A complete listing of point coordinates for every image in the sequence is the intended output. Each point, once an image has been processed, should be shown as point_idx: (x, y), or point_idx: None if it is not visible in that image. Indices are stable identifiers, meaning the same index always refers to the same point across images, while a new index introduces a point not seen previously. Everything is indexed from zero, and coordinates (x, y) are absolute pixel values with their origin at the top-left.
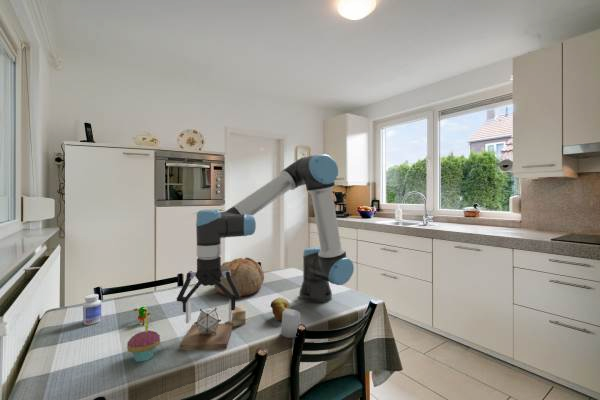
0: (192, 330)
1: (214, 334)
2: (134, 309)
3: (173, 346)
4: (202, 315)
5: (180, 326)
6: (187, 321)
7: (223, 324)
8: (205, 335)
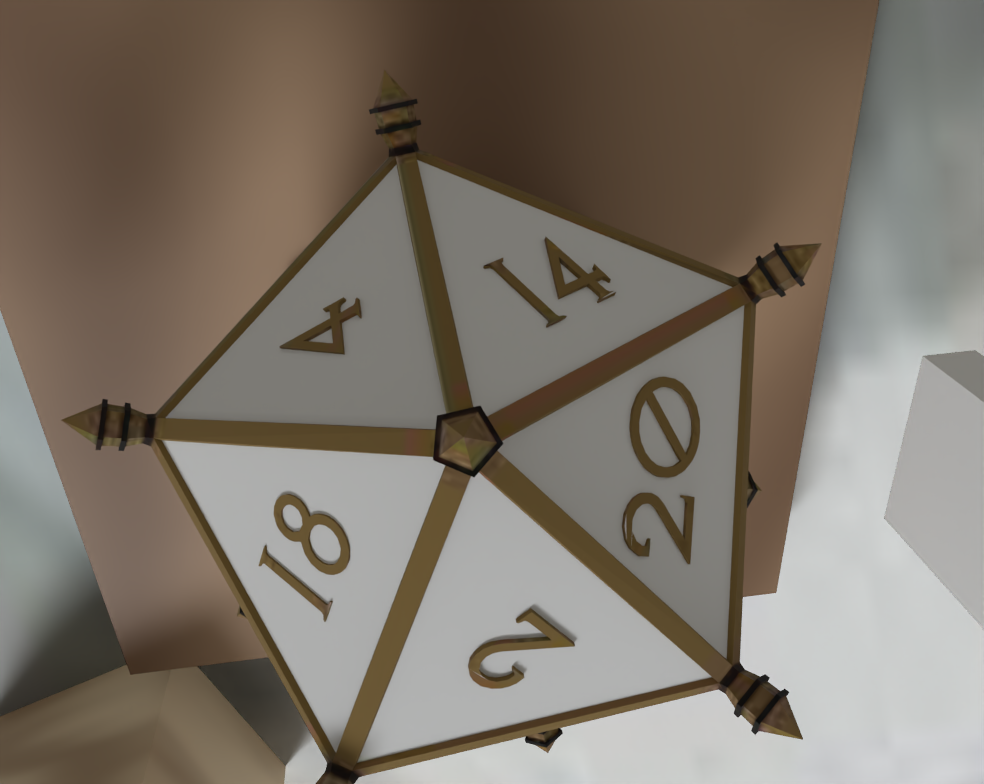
0: None
1: None
2: None
3: (969, 17)
4: (651, 488)
5: (917, 589)
6: (970, 376)
7: None
8: None
